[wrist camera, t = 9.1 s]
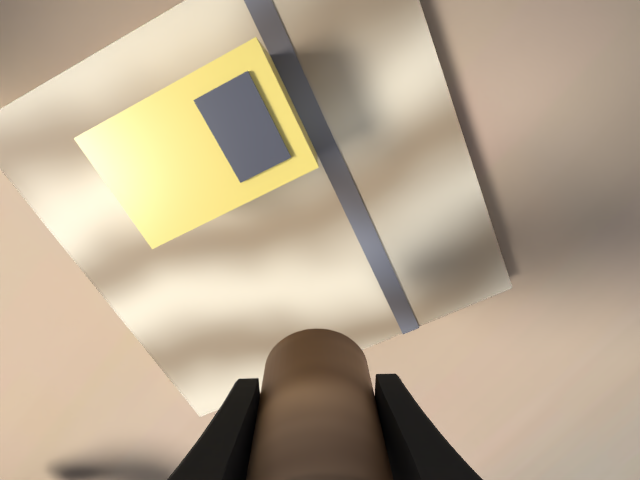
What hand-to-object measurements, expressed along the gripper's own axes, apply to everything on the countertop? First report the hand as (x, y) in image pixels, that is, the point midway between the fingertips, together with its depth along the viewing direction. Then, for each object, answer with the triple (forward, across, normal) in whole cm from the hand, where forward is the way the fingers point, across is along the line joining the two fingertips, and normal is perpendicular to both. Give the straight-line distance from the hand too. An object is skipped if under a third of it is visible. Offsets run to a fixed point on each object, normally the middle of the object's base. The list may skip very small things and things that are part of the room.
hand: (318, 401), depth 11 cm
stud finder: (+8, +4, -7) cm, 12 cm away
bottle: (+1, 0, 0) cm, 1 cm away
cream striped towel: (+10, +2, -4) cm, 10 cm away
